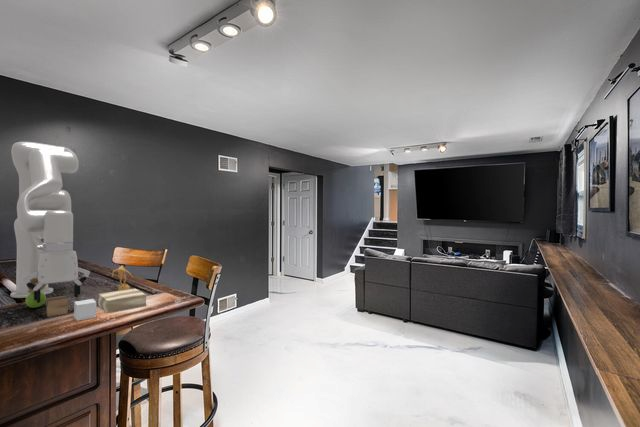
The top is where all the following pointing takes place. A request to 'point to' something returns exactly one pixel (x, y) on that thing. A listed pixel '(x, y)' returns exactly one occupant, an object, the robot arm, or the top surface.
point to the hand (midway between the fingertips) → (57, 299)
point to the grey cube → (84, 309)
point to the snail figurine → (30, 297)
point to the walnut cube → (56, 306)
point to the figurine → (121, 271)
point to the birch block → (121, 300)
